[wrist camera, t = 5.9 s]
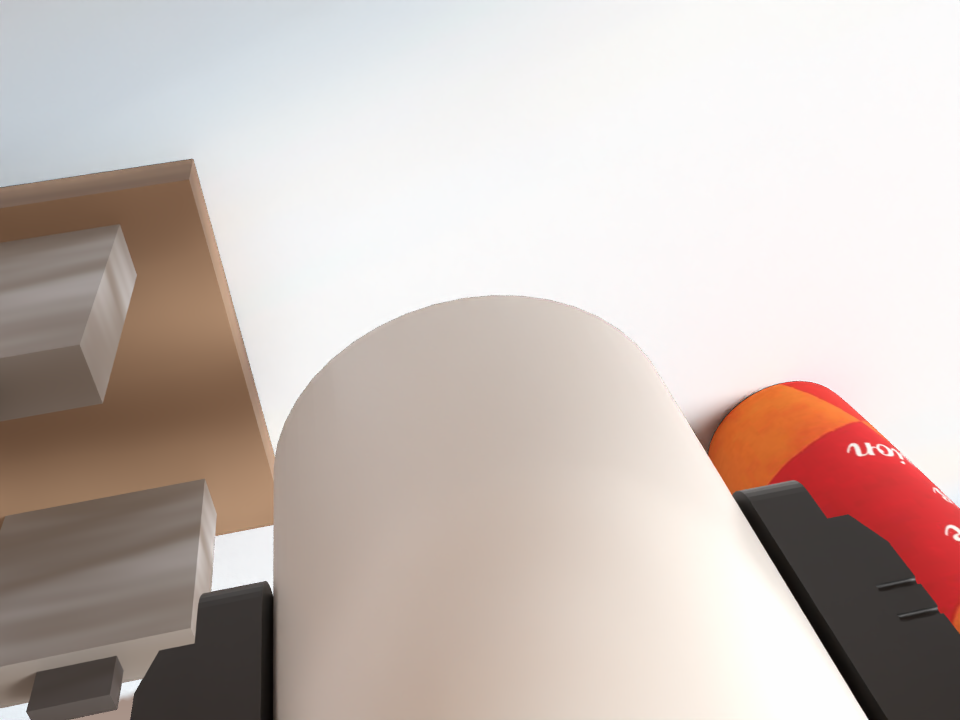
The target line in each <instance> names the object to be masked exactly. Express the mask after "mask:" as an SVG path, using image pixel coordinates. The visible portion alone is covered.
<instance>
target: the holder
mask: <svg viewBox="0 0 960 720" xmlns="http://www.w3.org/2000/svg"><path fill="white" fill-rule="evenodd" d="M274 461H275V456H274V452H273V448H272V445H271V441H270V437H269V434H268V430H267V426H266V423H265V419H264V415H263V412H262V408H261V404H260V401H259V397H258V393H257V390H256V386H255V383H254V379H253V375H252V372H251V368H250V364H249V361H248V357H247V353H246V350H245V346H244V342H243V339H242V335H241V331H240V328H239V324H238V320H237V317H236V313H235V309H234V306H233V302H232V299H231V295H230V291H229V288H228V284H227V280H226V277H225V273H224V269H223V266H222V262H221V258H220V255H219V251H218V247H217V244H216V240H215V236H214V233H213V229H212V225H211V222H210V218H209V215H208V211H207V207H206V204H205V200H204V196H203V193H202V189H201V185H200V182H199V178H198V174H197V171H196V167H195V163H194V160H193V159H189V160H183V161H176V162H169V163H162V164H156V165H149V166H142V167H136V168H129V169H122V170H116V171H109V172H102V173H96V174H89V175H82V176H76V177H69V178H62V179H56V180H49V181H42V182H36V183H29V184H22V185H15V186H9V187H2V188H0V708H4V707H9V706H14V705H19V704H23V703H28V702H29V703H28V707H27V711H26V712H27V714H28V716H29V718H30V719H31V720H70V719H74V718H79V717H84V716H89V715H94V714H98V713H102V712H108V711H113V710H117V708H118V702H119V696H120V690H121V684H122V683H124V682H129V681H134V680H138V679H143V678H144V676H145V674H146V672H147V671H148V669H149V667H150V666H151V664H152V662H153V660H154V659H155V657H156V655H157V653H158V652H159V650H164V649H169V648H174V647H179V646H184V645H189V644H194V643H195V633H196V622H197V611H198V603H199V599H200V596H201V595H202V594H203V593H208V592H211V585H212V572H213V559H214V545H215V536H218V535H223V534H229V533H234V532H239V531H244V530H249V529H254V528H259V527H265V526H270V525H274Z"/></svg>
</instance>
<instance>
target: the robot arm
mask: <svg viewBox="0 0 960 720" xmlns="http://www.w3.org/2000/svg"><path fill="white" fill-rule="evenodd" d="M732 496H733V498H734V499H735V501H736V503H737V504H738V506H739V508H740V509H741V511H742V512H743V514H744V516H745V517H746V519H747V521H748V522H749V524H750V526H751V527H752V529H753V531H754V532H755V534H756V536H757V537H758V539H759V540H760V542H761V544H762V545H763V547H764V549H765V550H766V552H767V554H768V555H769V557H770V559H771V560H772V562H773V564H774V565H775V567H776V568H777V570H778V572H779V573H780V575H781V577H782V578H783V580H784V582H785V583H786V585H787V587H788V588H789V590H790V592H791V593H792V595H793V596H794V598H795V600H796V601H797V603H798V605H799V606H800V608H801V610H802V611H803V613H804V615H805V616H806V618H807V620H808V621H809V623H810V624H811V626H812V628H813V629H814V631H815V633H816V634H817V636H818V638H819V639H820V641H821V643H822V644H823V646H824V648H825V649H826V651H827V652H828V654H829V656H830V657H831V659H832V661H833V662H834V664H835V666H836V667H837V669H838V671H839V672H840V674H841V676H842V677H843V679H844V680H845V682H846V684H847V685H848V687H849V689H850V690H851V692H852V694H853V695H854V697H855V699H856V700H857V702H858V704H859V705H860V707H861V708H862V710H863V712H864V713H865V715H866V717H867V718H868V720H960V634H959V632H958V631H957V630H956V628H955V627H954V626H953V625H952V623H951V622H950V621H949V619H948V618H947V617H946V615H945V614H944V613H940V612H939V610H938V605H937V604H936V603H935V601H934V600H933V599H932V597H931V596H930V595H929V594H928V592H927V591H926V590H925V588H924V587H923V586H922V584H917V582H916V580H915V575H914V574H913V573H912V572H911V570H910V569H909V568H908V566H907V565H906V564H905V563H904V561H903V560H902V559H901V557H900V556H899V555H898V553H897V552H896V551H895V550H894V548H893V547H892V546H891V544H890V543H889V542H888V541H887V540H885V539H884V538H882V537H881V536H880V535H878V534H877V533H875V532H874V531H872V530H871V529H869V528H868V527H866V526H865V525H863V524H862V523H860V522H859V521H858V520H856V519H855V518H853V517H852V516H850V515H849V514H847V515H842V516H837V517H832V518H827V517H826V516H825V514H824V513H823V512H822V510H821V509H820V507H819V506H818V505H817V503H816V502H815V500H814V499H813V498H812V496H811V495H810V493H809V492H808V491H807V489H806V488H805V487H804V486H803V485H802V484H801V483H799V482H798V481H795V480H792V481H786V482H781V483H776V484H771V485H766V486H760V487H755V488H750V489H745V490H740V491H735V492H734V493H733V495H732ZM130 720H273V594H272V591H271V588H270V586H269V584H268V582H266V581H264V582H259V583H254V584H249V585H244V586H239V587H234V588H228V589H223V590H218V591H213V592H208V593H203V594H202V595H201V596H200V599H199V603H198V611H197V622H196V633H195V643H194V644H189V645H184V646H179V647H174V648H169V649H164V650H159V652H158V653H157V655H156V657H155V659H154V660H153V662H152V664H151V666H150V667H149V669H148V671H147V672H146V674H145V676H144V678H143V679H142V681H141V683H140V685H139V686H138V688H137V690H136V691H135V693H134V699H133V707H132V712H131V719H130Z"/></svg>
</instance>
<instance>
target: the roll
mask: <svg viewBox="0 0 960 720" xmlns="http://www.w3.org/2000/svg"><path fill="white" fill-rule="evenodd" d="M273 720H868V718H867V717H866V715H865V713H864V712H863V710H862V708H861V707H860V705H859V704H858V702H857V700H856V699H855V697H854V695H853V694H852V692H851V690H850V689H849V687H848V685H847V684H846V682H845V680H844V679H843V677H842V676H841V674H840V672H839V671H838V669H837V667H836V666H835V664H834V662H833V661H832V659H831V657H830V656H829V654H828V652H827V651H826V649H825V648H824V646H823V644H822V643H821V641H820V639H819V638H818V636H817V634H816V633H815V631H814V629H813V628H812V626H811V624H810V623H809V621H808V620H807V618H806V616H805V615H804V613H803V611H802V610H801V608H800V606H799V605H798V603H797V601H796V600H795V598H794V596H793V595H792V593H791V592H790V590H789V588H788V587H787V585H786V583H785V582H784V580H783V578H782V577H781V575H780V573H779V572H778V570H777V568H776V567H775V565H774V564H773V562H772V560H771V559H770V557H769V555H768V554H767V552H766V550H765V549H764V547H763V545H762V544H761V542H760V540H759V539H758V537H757V536H756V534H755V532H754V531H753V529H752V527H751V526H750V524H749V522H748V521H747V519H746V517H745V516H744V514H743V512H742V511H741V509H740V508H739V506H738V504H737V503H736V501H735V499H734V498H733V496H732V494H731V493H730V491H729V489H728V488H727V486H726V484H725V483H724V481H723V480H722V478H721V476H720V475H719V473H718V471H717V470H716V468H715V466H714V465H713V463H712V461H711V460H710V458H709V456H708V455H707V453H706V452H705V450H704V448H703V447H702V445H701V443H700V442H699V440H698V438H697V437H696V435H695V433H694V432H693V430H692V428H691V427H690V425H689V424H688V422H687V420H686V419H685V417H684V415H683V414H682V412H681V410H680V409H679V407H678V405H677V404H676V402H675V400H674V399H673V397H672V396H671V394H670V392H669V391H668V389H667V387H666V386H665V384H664V382H663V381H662V379H661V377H660V376H659V374H658V372H657V371H656V369H655V368H654V366H653V364H652V363H651V361H650V360H649V358H648V357H647V356H646V355H645V354H644V353H643V351H642V350H641V349H640V348H639V347H638V346H637V344H636V343H634V342H633V341H632V340H631V339H630V338H629V337H627V336H626V335H625V334H624V333H623V332H621V331H620V330H619V329H618V328H616V327H614V326H613V325H611V324H609V323H608V322H606V321H604V320H603V319H601V318H599V317H598V316H595V315H593V314H591V313H588V312H586V311H584V310H581V309H579V308H577V307H574V306H570V305H567V304H563V303H559V302H556V301H552V300H547V299H540V298H533V297H526V296H503V295H491V296H480V297H470V298H462V299H457V300H452V301H448V302H443V303H438V304H434V305H431V306H428V307H425V308H422V309H419V310H416V311H413V312H410V313H407V314H404V315H402V316H400V317H398V318H396V319H394V320H391V321H389V322H387V323H385V324H383V325H381V326H379V327H377V328H375V329H374V330H372V331H370V332H369V333H367V334H366V335H364V336H362V337H361V338H359V339H357V340H356V341H354V342H353V343H351V344H350V345H349V346H348V347H346V348H345V349H344V350H343V351H341V352H340V353H339V354H338V355H336V356H335V357H334V358H333V359H331V360H330V361H329V362H328V363H327V364H326V366H325V367H324V368H323V369H322V370H321V371H320V372H319V373H318V374H317V375H316V376H315V377H314V378H313V379H312V380H311V382H310V383H309V384H308V386H307V387H306V388H305V390H304V391H303V392H302V394H301V395H300V396H299V398H298V399H297V401H296V403H295V404H294V406H293V408H292V410H291V412H290V414H289V416H288V417H287V419H286V421H285V424H284V427H283V430H282V432H281V435H280V438H279V441H278V444H277V450H276V455H275V461H274V558H273Z"/></svg>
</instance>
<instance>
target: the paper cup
mask: <svg viewBox="0 0 960 720" xmlns="http://www.w3.org/2000/svg"><path fill="white" fill-rule="evenodd" d="M708 456H709V458H710V460H711V461H712V463H713V465H714V466H715V468H716V470H717V471H718V473H719V475H720V476H721V478H722V480H723V481H724V483H725V484H726V486H727V488H728V489H729V491H730V493H731V494H732V495H733V493H734V492H735V491H740V490H745V489H750V488H755V487H760V486H766V485H771V484H776V483H781V482H786V481H792V480H795V481H798V482H799V483H801V484H802V485H803V486H804V487H805V488H806V489H807V491H808V492H809V493H810V495H811V496H812V498H813V499H814V500H815V502H816V503H817V505H818V506H819V507H820V509H821V510H822V512H823V513H824V514H825V516H826V517H827V518H832V517H837V516H842V515H847V514H849V515H850V516H852V517H853V518H855V519H856V520H858V521H859V522H860V523H862V524H863V525H865V526H866V527H868V528H869V529H871V530H872V531H874V532H875V533H877V534H878V535H880V536H881V537H882V538H884V539H885V540H887V541H888V542H889V543H890V544H891V546H892V547H893V548H894V550H895V551H896V552H897V553H898V555H899V556H900V557H901V559H902V560H903V561H904V563H905V564H906V565H907V566H908V568H909V569H910V570H911V572H912V573H913V574H914V575H915V580H916V582H917V584H922V586H923V587H924V588H925V590H926V591H927V592H928V594H929V595H930V596H931V597H932V599H933V600H934V601H935V603H936V604H937V605H938V610H939V612H940V613H944V614H945V615H946V617H947V618H948V619H949V621H950V622H951V623H952V625H953V626H954V627H955V628H956V630H957V631H958V632H959V634H960V508H959V507H958V506H957V505H956V504H954V503H953V502H952V501H951V500H950V499H949V498H948V497H947V496H946V495H945V494H944V493H943V492H942V491H941V490H940V489H939V488H938V487H937V486H936V485H934V484H933V483H932V482H931V481H930V480H929V479H928V478H927V477H926V476H925V475H924V474H923V473H922V472H921V471H920V470H919V469H918V468H917V467H915V466H914V465H913V464H912V463H911V462H910V461H909V460H908V459H907V458H906V457H905V456H904V455H903V454H902V453H901V452H900V451H899V450H897V449H896V448H895V447H894V446H893V445H892V444H891V443H890V442H889V441H888V440H887V439H886V438H885V437H884V436H883V435H881V434H880V433H879V432H878V431H877V430H876V429H875V428H874V427H873V426H872V425H871V424H870V423H869V422H868V421H866V420H865V419H864V418H863V417H862V416H861V415H860V414H859V413H858V412H857V411H855V410H854V409H853V408H852V407H851V406H850V405H849V404H848V403H846V402H845V401H844V400H843V399H842V398H840V397H839V396H838V395H837V394H836V393H834V392H833V391H831V390H830V389H828V388H826V387H824V386H822V385H820V384H816V383H812V382H804V381H794V382H786V383H781V384H777V385H773V386H771V387H768V388H765V389H763V390H761V391H759V392H757V393H755V394H753V395H751V396H750V397H748V398H746V399H745V400H744V401H742V402H741V403H740V404H738V405H737V406H736V407H735V408H734V409H733V410H732V411H731V412H730V413H729V414H728V415H727V416H726V417H725V418H724V419H723V421H722V422H721V423H720V425H719V426H718V428H717V430H716V431H715V433H714V435H713V437H712V440H711V443H710V446H709V451H708Z"/></svg>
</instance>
